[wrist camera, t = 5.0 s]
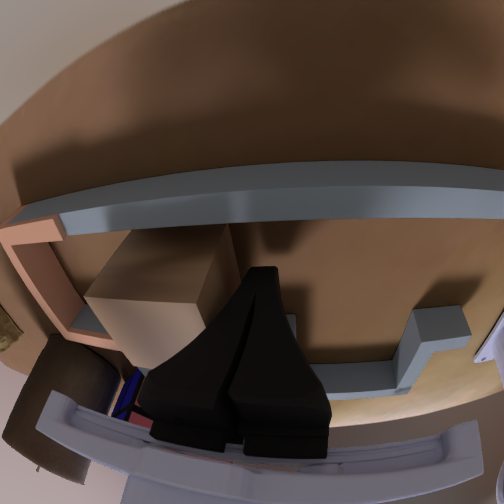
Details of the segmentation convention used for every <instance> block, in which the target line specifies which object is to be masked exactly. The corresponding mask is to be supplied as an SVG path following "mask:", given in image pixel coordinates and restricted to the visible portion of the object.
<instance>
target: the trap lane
mask: <svg viewBox="0 0 504 504" xmlns="http://www.w3.org/2000/svg"><path fill="white" fill-rule="evenodd" d="M353 218H486V219H504V170H499V169H491V168H483V167H474V166H465V165H454V164H441V163H426V162H405V161H312V162H290V163H273V164H260V165H247V166H236V167H226V168H217V169H208V170H200V171H192V172H184V173H177V174H170V175H163V176H157V177H151V178H144V179H139V180H133V181H127V182H122V183H117V184H111V185H106V186H101V187H97V188H92V189H87V190H83V191H78V192H74V193H70V194H65V195H61V196H57V197H53V198H49V199H45V200H42V201H38V202H34V203H31V204H27V205H23V206H21V207H20V208H18V209H17V210H16V211H15V212H14V213H13V214H11V215H10V216H9V217H8V218H7V219H6V220H5V221H4V222H3V223H2V224H0V242H1V244H2V246H3V248H4V250H5V251H6V253H7V255H8V257H9V258H10V260H11V262H12V264H13V265H14V267H15V269H16V270H17V272H18V273H19V275H20V277H21V278H22V280H23V281H24V283H25V284H26V286H27V287H28V289H29V290H30V292H31V293H32V295H33V296H34V298H35V299H36V301H37V302H38V304H39V305H40V306H41V308H42V309H43V310H44V312H45V313H46V315H47V316H48V317H49V319H50V320H51V321H52V322H53V324H54V325H55V326H56V328H57V329H58V330H59V331H60V333H61V334H62V335H63V336H64V338H65V339H67V340H71V341H75V342H79V343H83V344H88V345H92V346H97V347H102V348H107V349H112V350H117V351H121V349H120V348H119V347H118V346H117V344H116V343H115V342H114V340H113V339H112V337H111V336H110V335H109V333H108V332H107V331H106V329H105V328H104V326H103V325H102V324H101V322H100V321H99V319H98V318H97V316H96V315H95V313H94V312H93V310H92V309H91V307H90V306H89V304H84V302H83V301H82V299H81V298H80V296H79V295H78V293H77V292H76V290H75V288H74V287H73V285H72V283H71V282H70V280H69V278H68V277H67V275H66V273H65V272H64V270H63V268H62V267H61V265H60V263H59V261H58V259H57V258H56V256H55V254H54V252H53V250H52V248H51V246H50V245H49V243H48V242H51V241H62V240H64V239H65V238H66V237H67V236H68V235H78V234H88V233H99V232H110V231H122V230H134V229H147V228H160V227H175V226H190V225H206V224H223V223H242V222H262V221H286V220H315V219H353ZM286 317H287V319H288V322H289V325H290V327H291V329H292V332H293V334H294V336H295V338H296V340H297V337H296V316H295V314H288V315H286ZM471 336H472V334H471V331H470V328H469V326H468V323H467V321H466V318H465V316H464V313H463V311H462V308H461V306H460V305H455V306H445V307H435V308H424V309H412V312H411V315H410V317H409V320H408V323H407V325H406V328H405V330H404V333H403V336H402V338H401V340H400V343H399V345H398V348H397V350H396V352H395V355H394V357H393V359H392V360H388V361H375V362H361V363H341V364H310V366H311V368H312V369H313V371H314V372H315V374H316V375H317V377H318V378H319V380H320V381H321V382H322V384H323V387H324V390H325V392H326V395H327V397H328V400H346V399H362V398H374V397H385V396H394V395H402V394H407V393H408V392H409V390H410V389H411V387H412V386H413V384H414V383H415V381H416V380H417V378H418V377H419V375H420V373H421V372H422V370H423V369H424V367H425V365H426V364H427V362H428V360H429V359H430V357H431V355H432V354H433V352H439V351H445V350H452V349H458V348H464V347H465V346H466V344H467V343H468V341H469V339H470V338H471ZM138 369H139V370H140V371H141V372H142V373H143V375H144V376H145V377H146V376H147V374H148V372H149V371H150V370H152V369H148V368H142V367H138Z"/></svg>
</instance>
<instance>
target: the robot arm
mask: <svg viewBox="0 0 504 504" xmlns="http://www.w3.org/2000/svg"><path fill="white" fill-rule="evenodd" d="M492 359H495V361H496V364H497V367H498V370H499V374H500V377H501V380H502V384H503V387H504V312H503V314H502V315H501V317H500V319H499V320H498V322H497V324H496V325H495V327H494V328H493V330H492V332H491V333H490V335H489V336H488V338H487V339H486V341H485V342H484V344H483V345H482V347H481V348H480V350H479V351H478V352H477V354H476V355H475V357H474V358H473V360H474V363H479V362H484V361H488V360H492ZM137 402H138V404H139V406H140V407H141V408H142V409H143V410H144V411H145V412H147V413H148V414H149V415H150V416H151V417H152V418H153V419H154V420H153V423H152V426H151V428H147V427H143V426H140V425H136V424H133V423H129V422H126V421H123V420H119V419H116V418H113V417H110V416H107V415H104V414H101V413H99V412H96V411H93V410H90V409H88V408H85V407H82V406H80V405H77V403H76V402H75V401H74V400H72V399H71V398H69V397H68V396H66V395H64V394H61V393H59V392H57V391H54V390H52V391H51V393H50V396H49V398H48V400H47V402H46V404H45V406H44V409H43V411H42V413H41V415H40V418H39V420H38V422H37V425H36V429H37V430H38V431H40V432H41V433H43V434H45V435H46V436H48V437H49V438H51V439H53V440H54V441H56V442H58V443H59V444H61V445H63V446H65V447H66V448H68V449H70V450H72V451H74V452H76V453H78V454H80V455H82V456H84V457H86V458H88V459H90V460H92V461H94V462H97V463H99V464H101V465H104V466H106V467H108V468H110V469H113V470H115V471H118V472H120V473H123V474H125V475H128V479H127V482H126V486H125V489H124V493H123V496H122V500H121V503H120V504H376V503H382V502H388V501H394V500H399V499H404V498H409V497H414V496H418V495H422V494H426V493H430V492H434V491H437V490H440V489H444V488H447V487H451V486H454V485H457V484H459V483H462V482H465V481H467V480H470V479H472V478H475V477H477V476H479V475H482V474H483V473H484V468H483V457H482V449H481V443H480V442H481V441H480V435H479V429H478V423H477V420H476V419H474V420H471V421H468V422H464V423H460V424H457V425H453V426H451V427H449V428H447V429H446V430H444V432H443V433H441V434H437V435H433V436H428V437H423V438H418V439H413V440H407V441H400V442H394V443H387V444H379V445H370V446H358V447H344V448H328V436H329V424H330V421H331V417H332V411H331V406H330V403H329V400H328V397H327V395H326V392H325V390H324V387H323V384H322V382H321V381H320V380H319V378H318V377H317V375H316V374H315V372H314V371H313V369H312V368H311V366H310V364H309V363H308V361H307V359H306V358H305V356H304V354H303V352H302V350H301V348H300V346H299V345H298V343H297V340H296V338H295V336H294V334H293V332H292V329H291V327H290V325H289V322H288V319H287V317H286V314H285V311H284V308H283V304H282V301H281V294H280V284H279V275H278V268H277V267H275V266H261V267H251V268H250V269H249V270H248V272H247V274H246V275H245V277H244V279H243V280H242V282H241V284H240V285H239V287H238V288H237V290H236V291H235V293H234V294H233V295H232V297H231V298H230V300H229V301H228V302H227V304H226V305H225V306H224V307H223V309H222V310H221V311H220V313H219V314H218V315H217V316H216V317H215V318H214V320H213V321H212V322H211V323H210V324H209V325H208V326H207V327H206V328H205V329H204V330H203V331H202V332H201V333H200V334H199V335H198V336H197V337H196V338H195V339H194V340H193V341H191V342H190V343H189V344H188V345H187V346H185V347H184V348H183V349H182V350H180V351H179V352H178V353H176V354H175V355H174V356H172V357H171V358H170V359H168V360H167V361H165V362H163V363H162V364H160V365H159V366H157V367H155V368H154V369H152V370H150V371H149V372H148V374H147V376H146V378H145V379H144V382H143V384H142V387H141V390H140V392H139V395H138V398H137ZM162 448H163V449H162ZM165 449H167V450H171V451H167V450H165ZM172 451H175V452H172ZM176 452H180V453H184V454H180V453H176ZM185 454H189V455H194V456H199V457H204V458H199V457H194V456H189V455H185ZM205 458H210V459H216V460H210V459H205ZM217 460H222V461H229V462H237V463H247V464H256V465H269V466H287V467H288V466H289V467H300V468H299V469H298V472H287V471H277V470H268V469H260V468H253V467H246V466H240V465H236V464H232V463H227V462H222V461H217ZM496 497H497V503H498V504H504V462H503V464H502V466H501V469H500V473H499V476H498V480H497V487H496Z"/></svg>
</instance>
